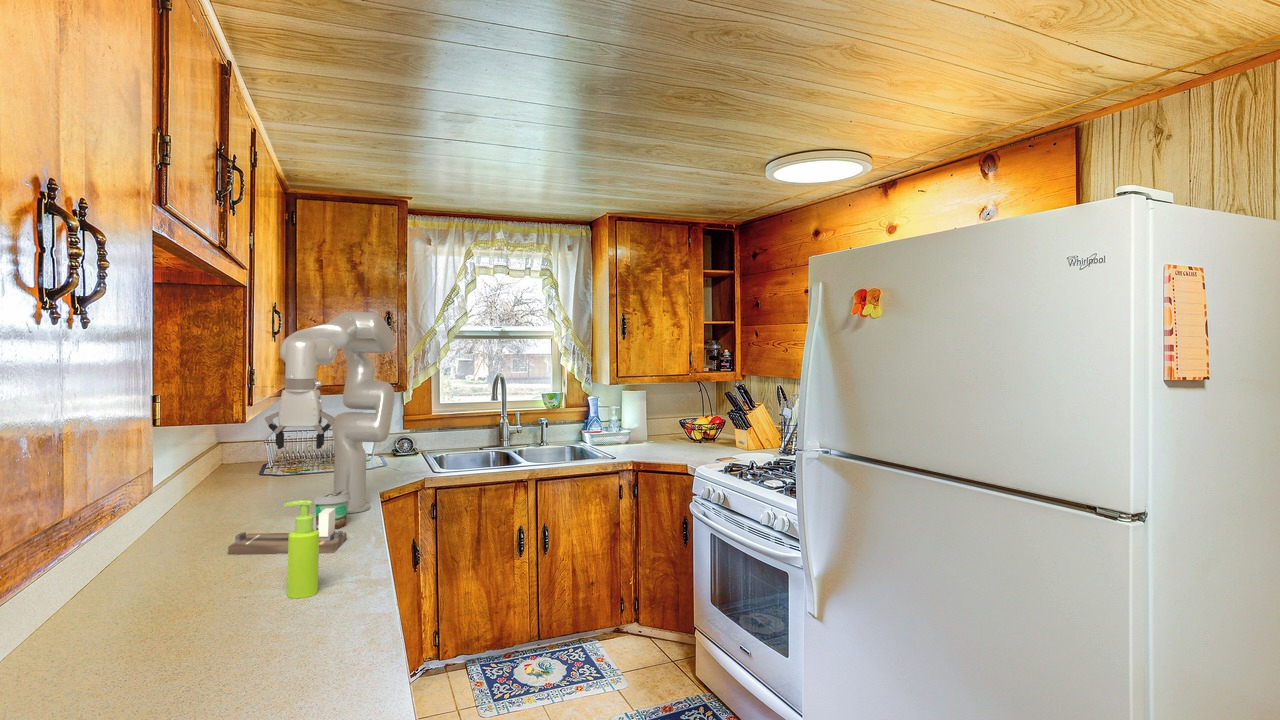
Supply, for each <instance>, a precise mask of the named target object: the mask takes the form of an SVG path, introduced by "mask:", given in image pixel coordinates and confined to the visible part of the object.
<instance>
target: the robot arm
mask: <svg viewBox="0 0 1280 720" xmlns="http://www.w3.org/2000/svg"><path fill="white" fill-rule="evenodd" d="M394 346H395V336H394V332H393V331H392V329H391V328H390V326H389V324H387V322H386V321H385V319H384V318H383V317H382V316H381V315H379V314H378V313H376V312H371V311H345V312H341V313H339V314H338V315H337V316H335V317H333V318H332V319H331V320H329V321H328V322H327V323H322V324H320V325H316V326H315V325H314V326H312V327H307V328H304V329H300V330H297V331H294V332H293V333H292V334H290V335H288V336H287V337H286V338H285V339H284V340H283V341H282V343H281V344H280V347H279V354H280V355H279V356H280V358H281V359H282V360H283V362H284V363H285V368H284V370H285V373H284V375H285V376H284V378H285V379H284V389H283V390H282V392H281V396H280V400H279V407H278V411H276V412H274V413H272V414H269V415H267V416H265V417H264V420H265V422H266V424H267V425H268V428H269V429H270V430H271V431H272V432H273V434H274V435H275V446H277V450H280V449H284V446H285V433H284V432H283V431H284V430H285V429H286V428H313V429H315V431H316V432H317V434H316V436H315V437H316V439H315V440H316V442H315V443H316V444H315V447H316V449H317V450H320V449H321V448H323V446H324V444H325V433H326V432H327V431H328V430H329V429H330V428H331V430H332V437H333V444H334V461H333V462H334V464H333V465H334V466H333V467H334V468H333V494H336V493H338V492H340V489H345V490H348V491H349V493H350V497H351V499H350V500H348V507H347V514H355V513H361V512H365V511H368V510H370V508H371V504H370V503H369V502H367V501H366V486H367V484H366V483H367V482H366V481H367V453H366V450H365V448H364V447H363V445H362V444H361V443H383V442H384V441H386V440H387V439H388V437H389V435H390V432H391V431H390V429H391V425H392V424H391V423H392V417H393V412H394V411H393V410H394V404H395V390H394V387H393V385H392V384H391V383H390V382H388V381H376V380H375V373H376V368H375V365H374V363H373V361H372V360H371V359H370V357H368V355H367V354H388V353H390V352H391V351H392V350H393V349H394ZM340 349H341V350H342V352H343V354H344V358H345V361H346V363H347V370H346V371H347V372H346V376H345V377H346V378H345V382H344V383H345V384H344V388H343V395H342V403H343V406H344V407H346V408H348V409H351V410H362V411H363V410H365V411H367V410H369V411H375V412H364V411H363V412H361V411H360V412H357V411H356V412H355V411H345V412H341V413H339V414H336V416H333V415H331V414H329V413H327V412H325V411H323V403H322V396H321V391H320V389H317V388H318V387H322V386H323V381H322V380H318V378H317V366H327V365H331V364H332V363H334V361H335V360H336V358H337V356H338V350H340ZM276 418H278V419H277V421H278V424H276V423H275V422H274V419H276ZM323 419H325V420H327V422H326V424H325V425H324V426H323V425H322V424H323Z"/></svg>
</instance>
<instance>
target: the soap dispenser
mask: <svg viewBox="0 0 1280 720" xmlns="http://www.w3.org/2000/svg"><path fill="white" fill-rule="evenodd" d="M312 505H313V500H310V499H309V500H308V499H307V500H300V499H299V500H298V499H297V500H292V501H289V502H285V503H283V507H285V508H287V507H288V508H289V507H293V506H300V509H299V510H300V511H299V514H298V516H296V517H295V527H294V528H295V529H294V531H291V532H288V533H289V540H288V554H287V577H286V578H287V583H286V588H287V589H286V596H287V597H288V598H290V599H294V598H299V599H305V598H306V597H307V598H310V596H311V597H313V596H316V595H317V593H319V592H318V591H319V590H318V588H319V558H320V557H319V554H320V553H319V531H317V530H316V529H314V515H312V514H310V506H312Z"/></svg>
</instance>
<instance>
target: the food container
mask: <svg viewBox="0 0 1280 720" xmlns="http://www.w3.org/2000/svg"><path fill="white" fill-rule="evenodd" d="M350 499H351V497H350V493H349V491H348V490H345V489H340V492H338V493H336V494H334V493H329V494H326V495H324V496H315V498H314V501H313V504H314V505H315V527H316V528H315V530H318V525H319V513H320V512H322V511H323V510H324V509H325V508H335V529H337V530H340V528H341V529H343V528H345V527H346V524H347V516H348V515H347V514H348V513H347V507H348V500H350ZM344 526H345V527H344ZM342 527H343V528H342Z"/></svg>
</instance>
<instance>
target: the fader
mask: <svg viewBox="0 0 1280 720" xmlns="http://www.w3.org/2000/svg"><path fill="white" fill-rule="evenodd" d="M318 531H319V541H330V540H331V539H332V538H333V537H334V535H335V533H336V530H335V508H325V509H324V510H323V511H322V512H320V513H319V525H318Z"/></svg>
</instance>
